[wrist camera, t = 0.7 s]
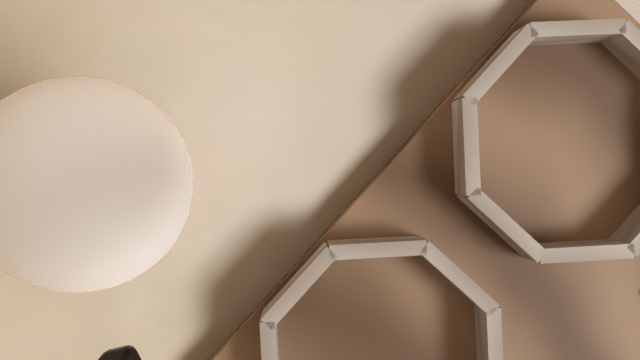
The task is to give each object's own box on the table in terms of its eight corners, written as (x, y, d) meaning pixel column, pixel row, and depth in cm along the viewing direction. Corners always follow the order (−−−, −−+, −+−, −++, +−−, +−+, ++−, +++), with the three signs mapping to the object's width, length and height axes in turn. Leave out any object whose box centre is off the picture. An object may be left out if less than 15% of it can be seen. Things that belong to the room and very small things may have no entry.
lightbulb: (160, 278, 23) (38, 373, 12) (56, 182, 23) (-162, 192, 12) (256, 177, 24) (220, 182, 13) (154, 80, 23) (24, -1, 12)
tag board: (464, 601, 24) (483, 651, 22) (200, 370, 24) (188, 394, 21) (812, 208, 25) (871, 212, 22) (561, -31, 24) (592, -55, 21)
